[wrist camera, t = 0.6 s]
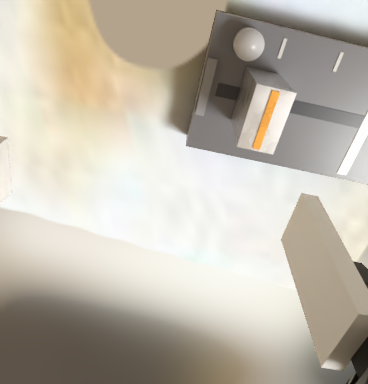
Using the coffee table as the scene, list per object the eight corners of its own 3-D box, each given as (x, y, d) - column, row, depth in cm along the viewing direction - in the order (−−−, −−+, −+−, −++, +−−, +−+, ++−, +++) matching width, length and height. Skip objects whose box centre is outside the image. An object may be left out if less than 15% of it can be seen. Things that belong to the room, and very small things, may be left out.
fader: (246, 66, 30) (257, 84, 25) (279, 74, 30) (297, 93, 25) (230, 120, 32) (236, 147, 27) (261, 127, 33) (273, 155, 27)
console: (216, 9, 30) (218, 13, 27) (448, 66, 32) (478, 77, 28) (186, 136, 36) (185, 152, 33) (382, 178, 38) (400, 197, 35)
